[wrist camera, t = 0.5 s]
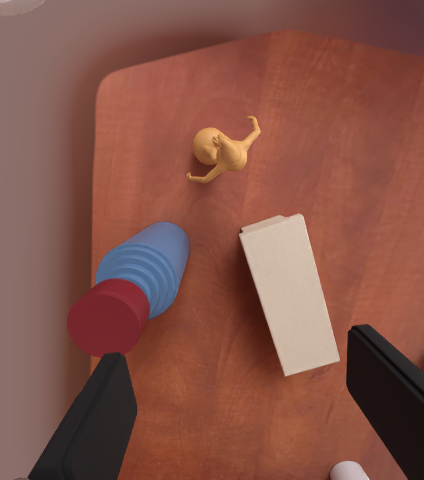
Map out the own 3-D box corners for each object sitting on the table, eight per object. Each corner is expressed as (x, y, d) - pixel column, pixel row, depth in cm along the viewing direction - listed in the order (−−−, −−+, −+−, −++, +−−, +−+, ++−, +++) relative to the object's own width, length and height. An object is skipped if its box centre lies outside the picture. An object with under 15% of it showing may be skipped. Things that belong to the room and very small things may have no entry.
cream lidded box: (233, 226, 31) (239, 236, 25) (284, 209, 30) (303, 214, 24) (272, 344, 35) (285, 376, 29) (317, 330, 35) (340, 360, 28)
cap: (74, 309, 16) (52, 329, 14) (112, 265, 15) (95, 279, 13) (124, 345, 17) (110, 370, 14) (162, 305, 16) (154, 325, 14)
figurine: (224, 111, 28) (235, 57, 16) (256, 151, 29) (288, 127, 17) (174, 160, 29) (150, 142, 17) (206, 196, 30) (204, 203, 18)
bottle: (128, 248, 32) (24, 326, 14) (161, 210, 30) (93, 243, 13) (167, 281, 33) (117, 391, 15) (200, 245, 32) (188, 319, 14)
